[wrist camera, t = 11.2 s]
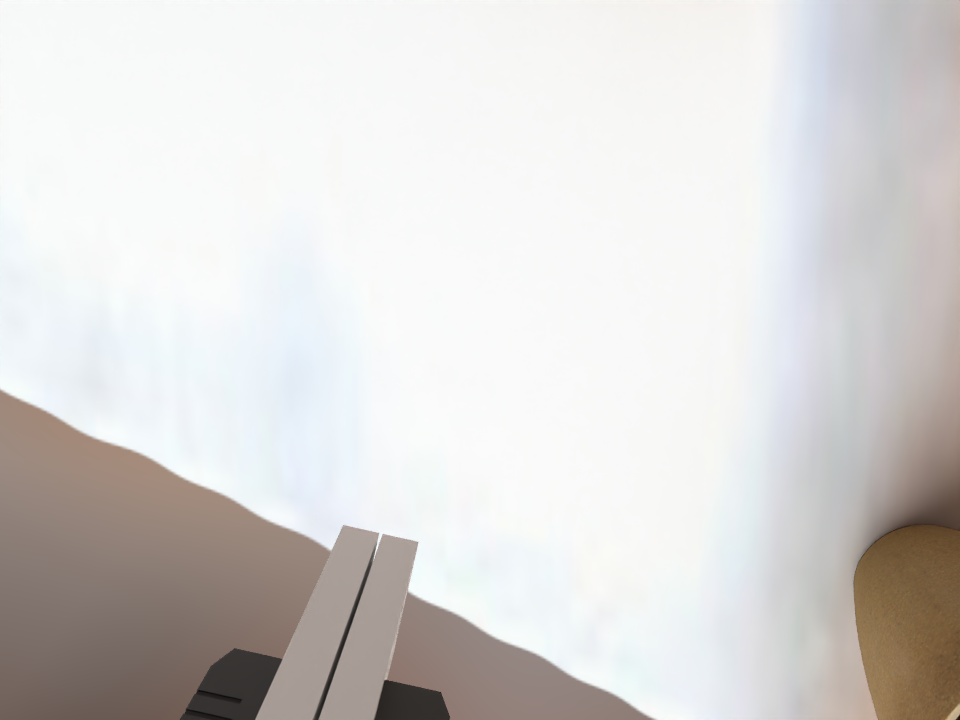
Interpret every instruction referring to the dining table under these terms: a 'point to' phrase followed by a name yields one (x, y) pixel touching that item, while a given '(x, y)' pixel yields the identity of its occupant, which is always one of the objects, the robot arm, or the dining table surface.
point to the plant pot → (911, 623)
